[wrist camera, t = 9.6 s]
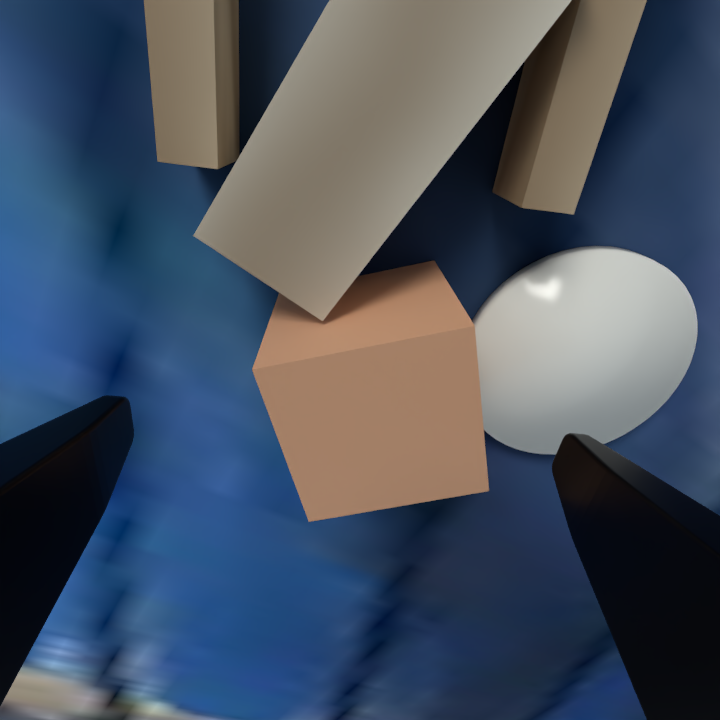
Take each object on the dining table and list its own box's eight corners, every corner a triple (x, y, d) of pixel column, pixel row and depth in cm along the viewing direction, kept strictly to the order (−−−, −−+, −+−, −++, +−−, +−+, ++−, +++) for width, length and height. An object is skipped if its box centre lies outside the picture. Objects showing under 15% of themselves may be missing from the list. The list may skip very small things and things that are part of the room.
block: (433, 259, 13) (475, 325, 9) (450, 390, 15) (489, 490, 11) (279, 291, 13) (252, 369, 9) (317, 415, 15) (309, 521, 11)
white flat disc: (727, 260, 13) (744, 266, 12) (627, 449, 16) (637, 461, 16) (491, 231, 12) (498, 237, 12) (438, 435, 16) (441, 446, 15)
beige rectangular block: (533, -3, 10) (607, -47, 7) (327, 276, 13) (322, 321, 10) (426, -125, 9) (464, -233, 6) (228, 207, 12) (193, 235, 9)
